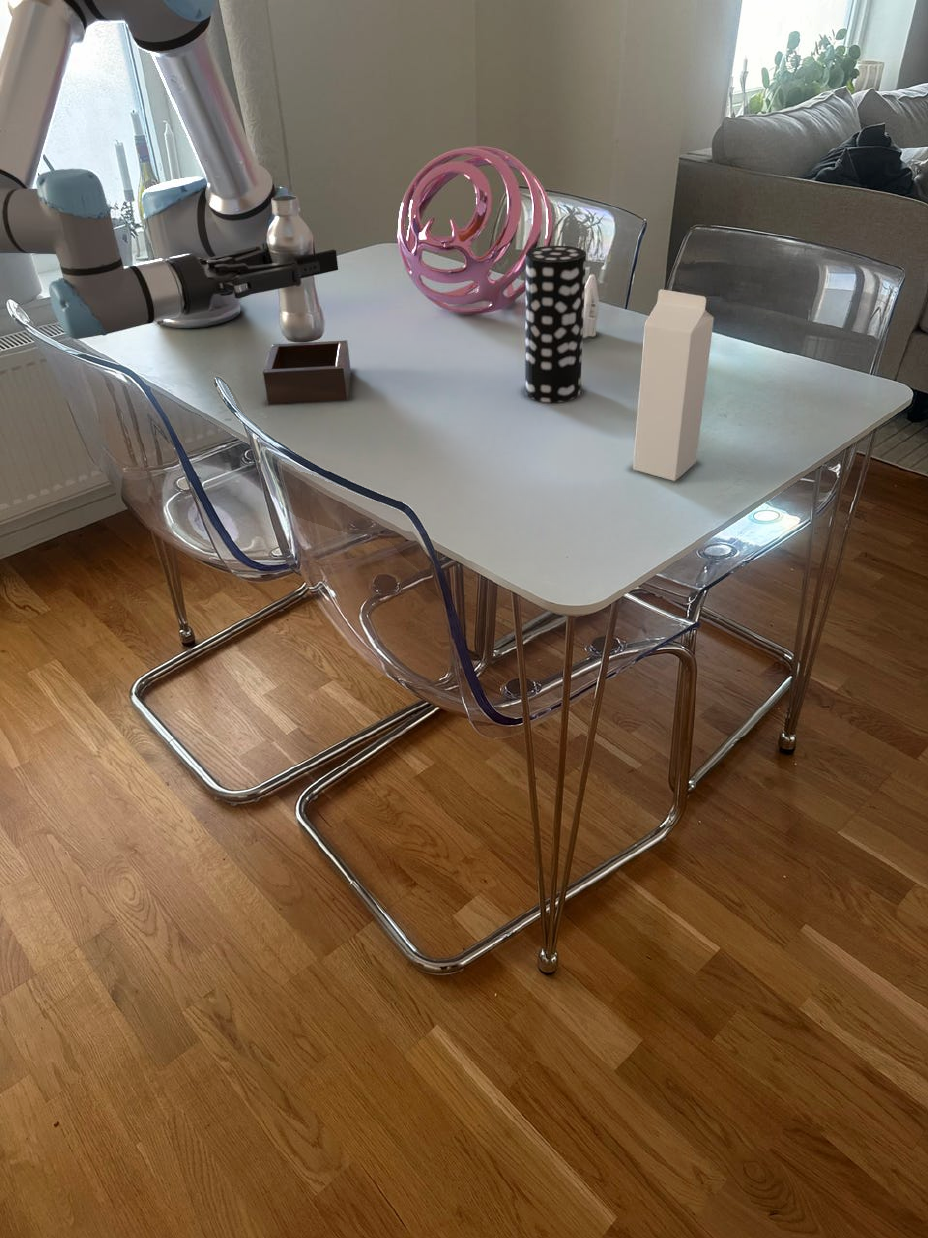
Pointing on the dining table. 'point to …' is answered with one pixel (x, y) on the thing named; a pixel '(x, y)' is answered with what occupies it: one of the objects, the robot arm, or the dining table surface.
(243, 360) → the dining table surface
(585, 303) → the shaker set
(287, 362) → the box
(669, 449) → the milk
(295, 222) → the silver metal bottle
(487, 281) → the spiral basket
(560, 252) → the spotted tube
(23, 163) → the robot arm
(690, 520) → the dining table surface
